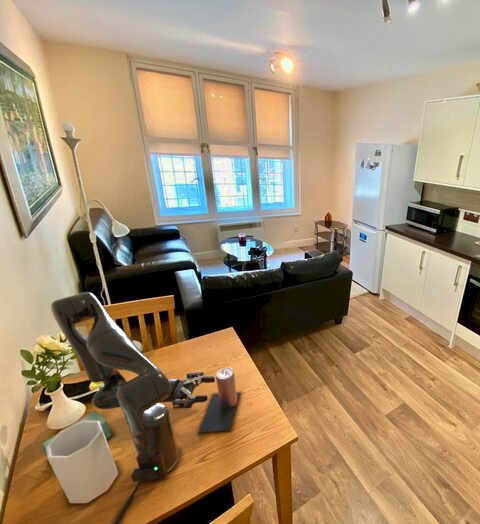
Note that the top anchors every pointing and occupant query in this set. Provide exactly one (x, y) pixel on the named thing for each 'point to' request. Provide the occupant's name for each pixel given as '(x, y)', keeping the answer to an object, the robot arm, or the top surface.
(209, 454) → the top surface
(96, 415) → the box
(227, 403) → the beverage can
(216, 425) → the mat
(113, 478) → the cup
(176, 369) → the top surface
